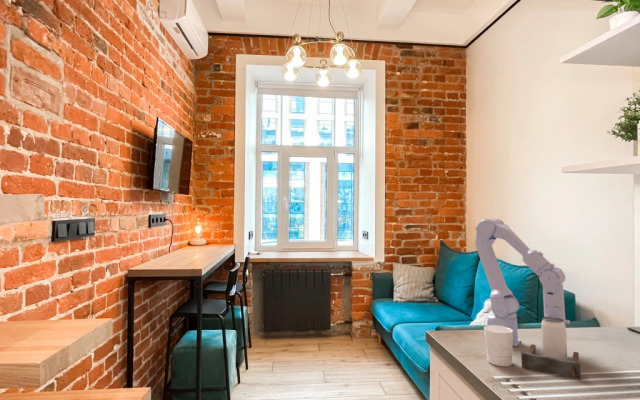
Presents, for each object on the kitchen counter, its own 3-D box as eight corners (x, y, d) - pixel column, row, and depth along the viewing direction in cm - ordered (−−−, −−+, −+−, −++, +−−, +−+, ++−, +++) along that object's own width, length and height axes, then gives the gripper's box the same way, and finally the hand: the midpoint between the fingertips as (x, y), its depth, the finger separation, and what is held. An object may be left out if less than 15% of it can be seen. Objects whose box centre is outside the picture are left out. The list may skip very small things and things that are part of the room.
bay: (521, 367, 105) (521, 353, 105) (528, 353, 116) (528, 340, 116) (580, 379, 96) (579, 364, 96) (582, 363, 107) (581, 349, 108)
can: (571, 363, 108) (569, 322, 108) (547, 361, 109) (545, 322, 110) (562, 354, 114) (560, 316, 114) (539, 353, 115) (537, 315, 116)
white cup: (513, 369, 103) (511, 334, 104) (483, 364, 107) (482, 330, 108) (515, 360, 110) (513, 327, 110) (487, 355, 114) (485, 324, 115)
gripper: (567, 311, 108) (570, 357, 107) (569, 302, 120) (572, 344, 119) (540, 308, 112) (542, 352, 112) (545, 300, 124) (547, 340, 123)
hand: (556, 348), depth 115 cm, fingers closed
